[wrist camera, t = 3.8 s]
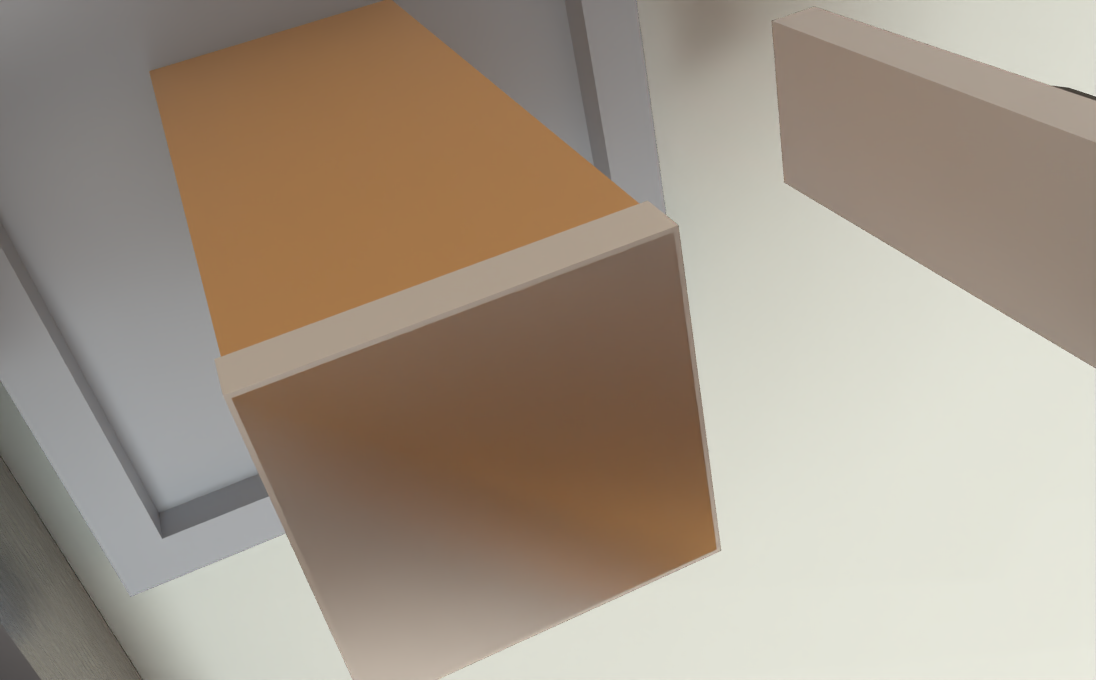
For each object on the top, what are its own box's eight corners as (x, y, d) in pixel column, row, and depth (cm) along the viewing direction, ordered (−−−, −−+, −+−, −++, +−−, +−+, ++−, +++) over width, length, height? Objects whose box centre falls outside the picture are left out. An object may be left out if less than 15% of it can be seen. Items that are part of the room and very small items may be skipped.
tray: (-330, -224, 13) (-361, -219, 12) (545, -416, 16) (577, -425, 15) (127, 556, 21) (130, 596, 20) (662, 343, 23) (687, 368, 22)
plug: (145, 69, 16) (222, 395, 8) (392, -6, 17) (678, 225, 9) (236, 289, 19) (367, 712, 11) (450, 213, 20) (721, 550, 12)
